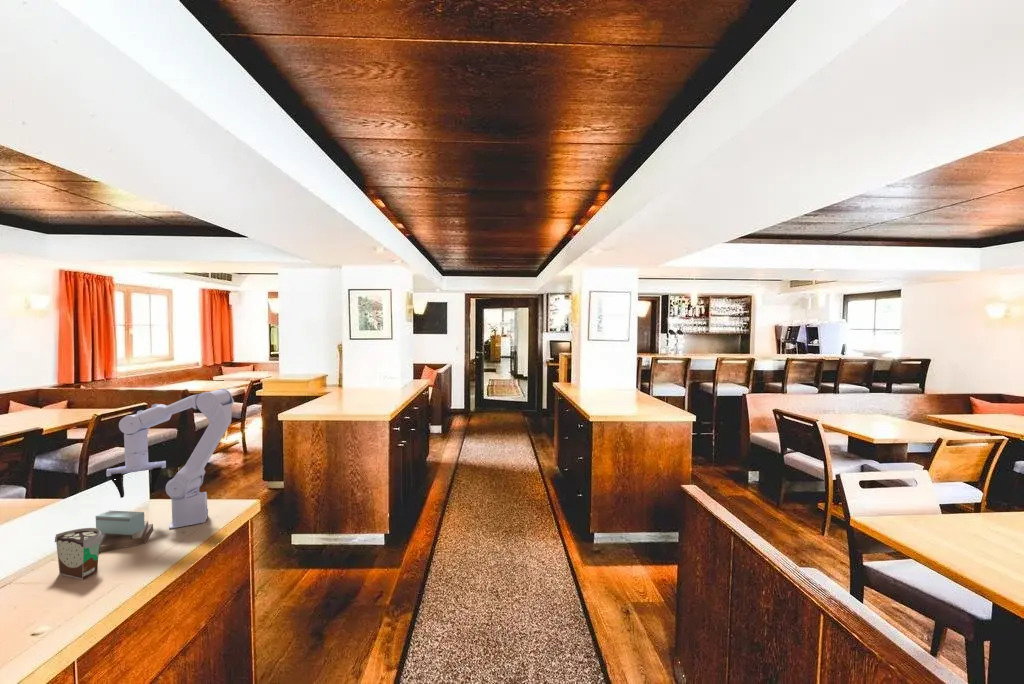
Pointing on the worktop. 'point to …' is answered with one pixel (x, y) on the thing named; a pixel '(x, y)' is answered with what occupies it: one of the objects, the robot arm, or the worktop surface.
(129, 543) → the display stand
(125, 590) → the worktop surface
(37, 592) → the worktop surface
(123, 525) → the glasses case
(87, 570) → the food container
